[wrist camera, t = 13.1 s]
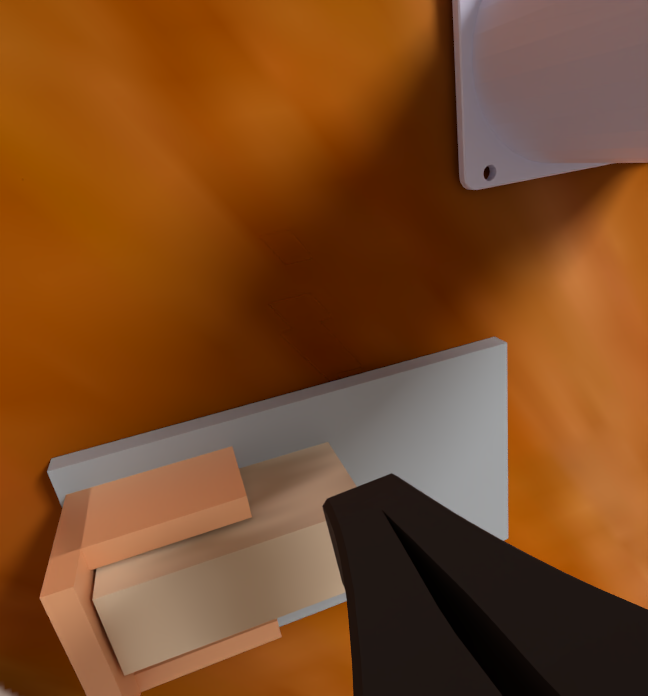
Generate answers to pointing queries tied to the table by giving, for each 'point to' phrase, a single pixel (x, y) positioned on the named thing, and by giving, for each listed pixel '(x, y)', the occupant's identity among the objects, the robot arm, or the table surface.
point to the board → (353, 435)
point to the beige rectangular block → (229, 566)
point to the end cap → (130, 540)
